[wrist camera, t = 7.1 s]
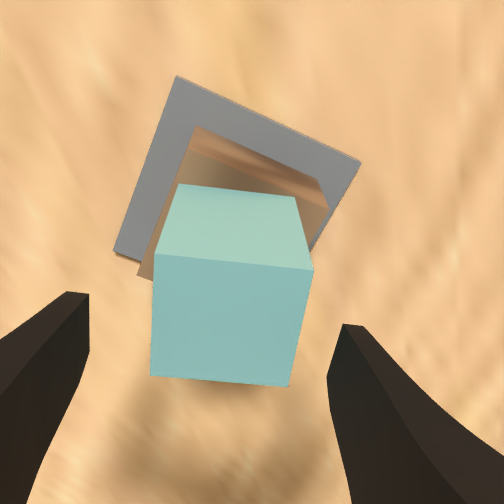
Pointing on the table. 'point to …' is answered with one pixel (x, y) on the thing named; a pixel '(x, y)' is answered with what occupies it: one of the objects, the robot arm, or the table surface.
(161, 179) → the mat
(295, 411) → the table surface
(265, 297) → the teal block
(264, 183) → the walnut block
